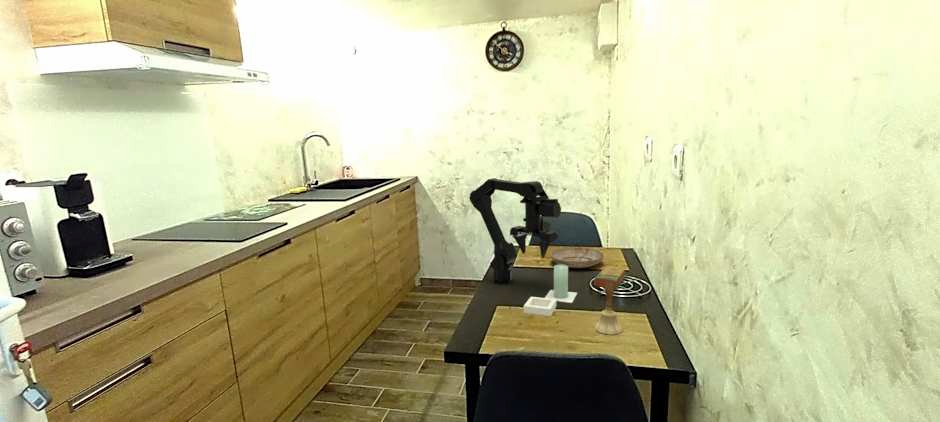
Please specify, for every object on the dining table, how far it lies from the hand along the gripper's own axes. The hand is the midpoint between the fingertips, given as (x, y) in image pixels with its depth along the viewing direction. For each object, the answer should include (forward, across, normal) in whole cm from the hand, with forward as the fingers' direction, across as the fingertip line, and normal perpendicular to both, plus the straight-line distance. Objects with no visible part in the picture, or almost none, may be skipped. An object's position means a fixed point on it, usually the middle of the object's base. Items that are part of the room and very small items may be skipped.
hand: (533, 255), depth 179 cm
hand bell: (+13, -40, +14) cm, 44 cm away
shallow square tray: (+13, -16, +16) cm, 26 cm away
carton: (+14, -18, -25) cm, 34 cm away
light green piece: (+12, -14, +2) cm, 18 cm away
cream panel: (+13, -14, +2) cm, 19 cm away
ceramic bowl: (+13, +5, -37) cm, 40 cm away
